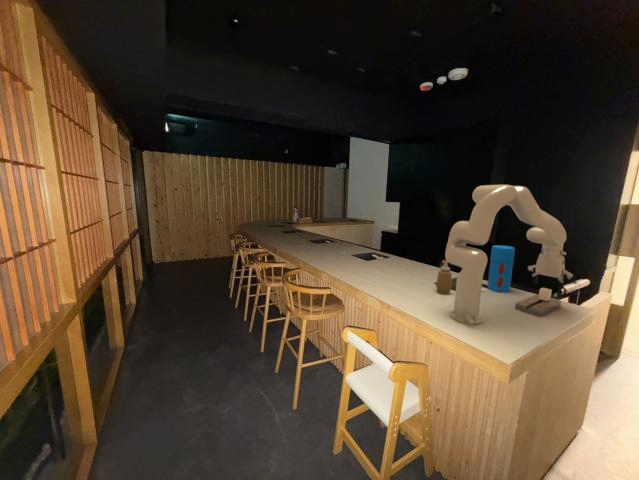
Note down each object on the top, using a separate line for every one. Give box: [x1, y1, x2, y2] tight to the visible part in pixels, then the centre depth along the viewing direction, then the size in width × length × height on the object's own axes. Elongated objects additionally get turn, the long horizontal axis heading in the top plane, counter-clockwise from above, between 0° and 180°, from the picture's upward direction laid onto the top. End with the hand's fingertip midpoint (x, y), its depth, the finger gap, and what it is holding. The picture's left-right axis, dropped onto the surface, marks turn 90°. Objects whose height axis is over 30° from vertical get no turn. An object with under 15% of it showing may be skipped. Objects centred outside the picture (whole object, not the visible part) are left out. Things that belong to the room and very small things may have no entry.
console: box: [514, 294, 562, 318], centre depth 129 cm, size 22×10×3 cm, turn 121°
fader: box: [538, 287, 553, 302], centre depth 132 cm, size 4×3×6 cm
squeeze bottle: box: [435, 260, 453, 295], centre depth 148 cm, size 8×8×18 cm
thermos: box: [487, 244, 516, 294], centre depth 153 cm, size 11×11×25 cm
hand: (546, 286), depth 131 cm, fingers open, 9 cm apart
